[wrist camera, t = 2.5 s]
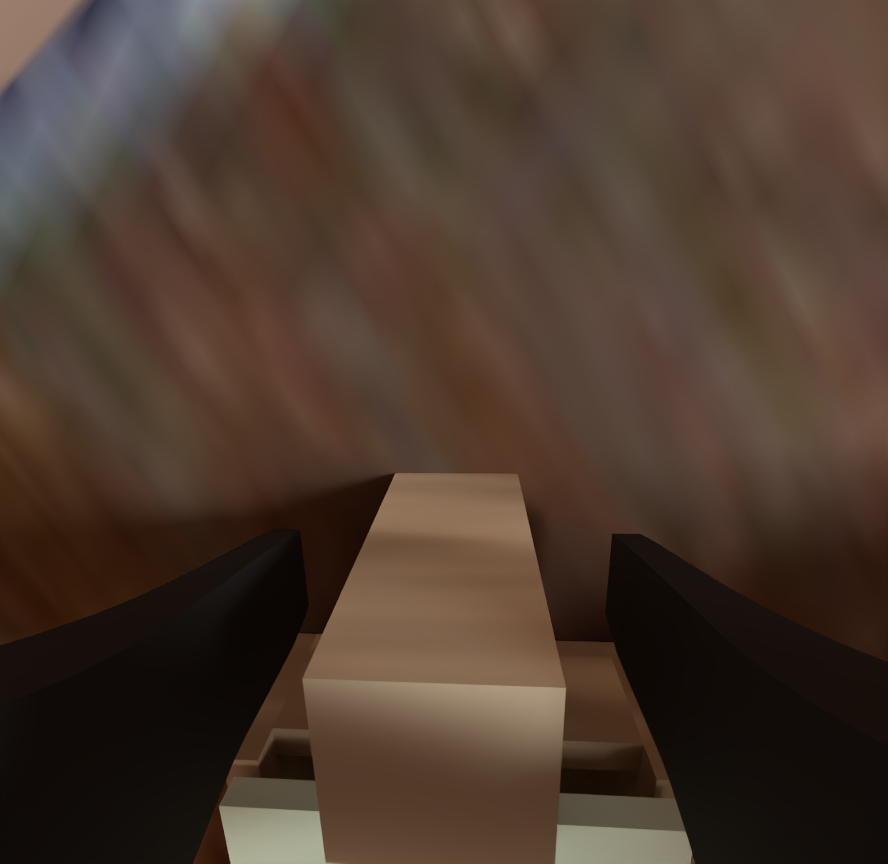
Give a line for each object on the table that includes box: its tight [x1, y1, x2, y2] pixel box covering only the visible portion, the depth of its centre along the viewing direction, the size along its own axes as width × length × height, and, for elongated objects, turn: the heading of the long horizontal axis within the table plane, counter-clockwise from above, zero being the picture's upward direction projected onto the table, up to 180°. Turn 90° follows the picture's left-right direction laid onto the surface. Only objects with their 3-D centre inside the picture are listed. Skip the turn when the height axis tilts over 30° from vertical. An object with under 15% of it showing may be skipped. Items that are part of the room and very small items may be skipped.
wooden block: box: [302, 473, 566, 864], centre depth 10 cm, size 3×3×7 cm
